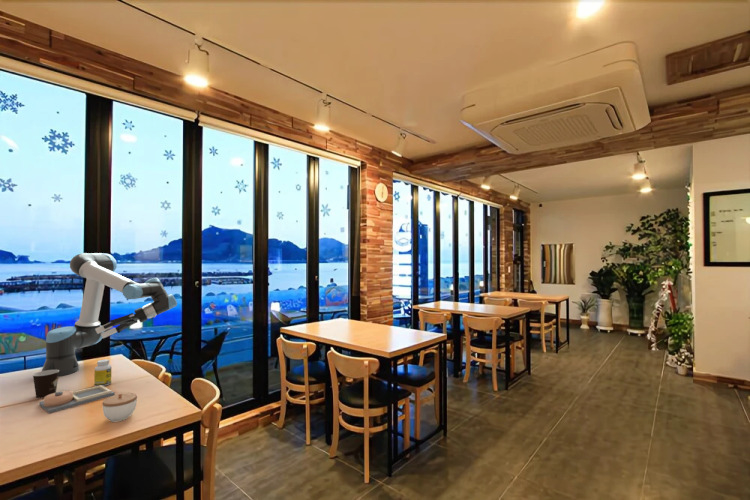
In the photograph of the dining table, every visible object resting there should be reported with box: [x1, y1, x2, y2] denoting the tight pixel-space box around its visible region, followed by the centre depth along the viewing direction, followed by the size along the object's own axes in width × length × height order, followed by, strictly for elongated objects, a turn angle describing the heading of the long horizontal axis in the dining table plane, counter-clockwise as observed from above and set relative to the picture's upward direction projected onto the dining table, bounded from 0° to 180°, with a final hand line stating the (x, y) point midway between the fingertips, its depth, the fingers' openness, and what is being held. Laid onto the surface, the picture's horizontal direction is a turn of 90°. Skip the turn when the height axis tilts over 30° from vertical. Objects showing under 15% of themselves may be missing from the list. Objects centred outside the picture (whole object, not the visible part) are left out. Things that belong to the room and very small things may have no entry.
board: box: [38, 385, 116, 414], centre depth 151 cm, size 14×22×5 cm, turn 146°
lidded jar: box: [102, 392, 138, 423], centre depth 134 cm, size 11×11×9 cm
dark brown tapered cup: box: [32, 370, 60, 399], centre depth 158 cm, size 12×9×10 cm
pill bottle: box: [93, 358, 112, 387], centre depth 169 cm, size 6×6×12 cm
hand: (99, 333), depth 176 cm, fingers open, 13 cm apart
